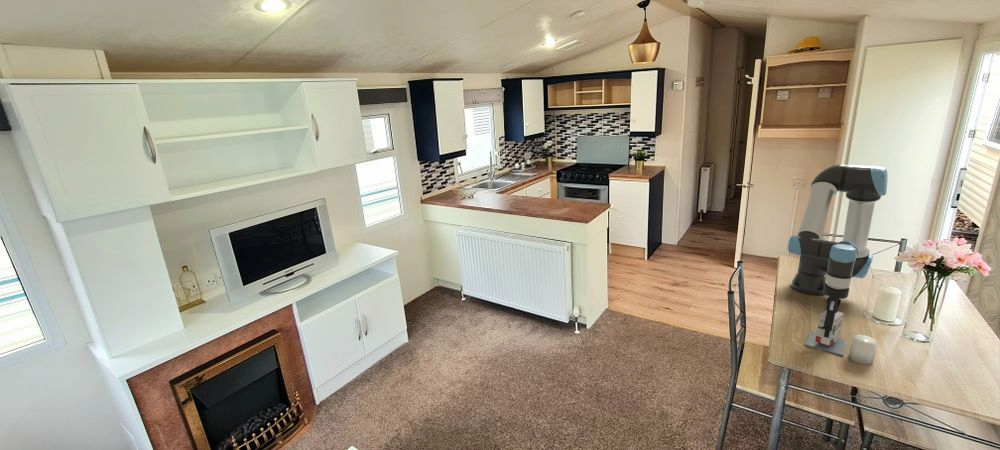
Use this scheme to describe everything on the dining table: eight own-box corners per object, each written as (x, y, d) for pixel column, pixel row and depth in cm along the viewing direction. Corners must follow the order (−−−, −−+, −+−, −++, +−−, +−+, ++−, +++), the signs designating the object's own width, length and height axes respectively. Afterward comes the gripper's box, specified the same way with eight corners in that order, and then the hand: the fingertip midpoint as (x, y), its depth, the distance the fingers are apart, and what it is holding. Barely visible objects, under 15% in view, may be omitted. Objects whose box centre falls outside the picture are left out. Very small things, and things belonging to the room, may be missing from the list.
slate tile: (810, 332, 180) (810, 331, 179) (846, 342, 172) (847, 341, 172) (804, 345, 171) (804, 344, 171) (843, 356, 163) (843, 355, 163)
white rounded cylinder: (848, 351, 166) (852, 332, 164) (872, 356, 162) (877, 338, 160) (848, 360, 161) (853, 341, 158) (873, 366, 157) (878, 347, 154)
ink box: (829, 347, 167) (834, 319, 163) (814, 341, 171) (819, 314, 167) (838, 339, 171) (844, 312, 168) (824, 334, 175) (829, 307, 172)
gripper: (828, 273, 174) (819, 323, 181) (820, 293, 159) (810, 347, 166) (852, 277, 169) (842, 329, 176) (846, 298, 154) (835, 354, 161)
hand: (826, 337), depth 171 cm, fingers closed on ink box, 9 cm apart
